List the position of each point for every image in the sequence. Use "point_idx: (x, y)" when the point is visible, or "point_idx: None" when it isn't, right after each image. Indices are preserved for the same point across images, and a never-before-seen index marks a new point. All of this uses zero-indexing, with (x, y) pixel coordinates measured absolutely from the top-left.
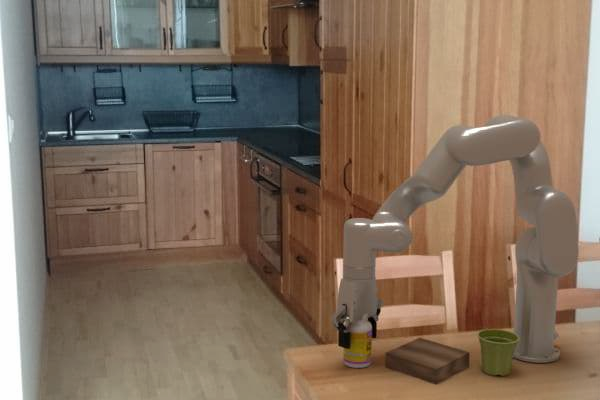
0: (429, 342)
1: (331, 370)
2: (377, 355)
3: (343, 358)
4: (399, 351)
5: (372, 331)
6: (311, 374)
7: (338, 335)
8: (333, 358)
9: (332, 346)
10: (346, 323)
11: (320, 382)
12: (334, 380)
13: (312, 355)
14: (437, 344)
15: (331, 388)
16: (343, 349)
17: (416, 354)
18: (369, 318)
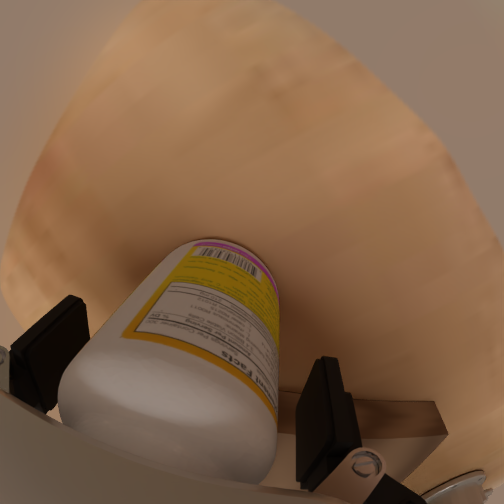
0: (410, 463)
1: (97, 239)
2: (350, 325)
3: (163, 259)
4: (288, 451)
5: (300, 429)
6: (38, 198)
7: (35, 323)
8: (205, 174)
9: (350, 89)
10: (64, 399)
11: (24, 257)
12: (55, 287)
13: (180, 70)
14: (398, 476)
15: (25, 301)
16: (151, 273)
17: (291, 478)
18: (322, 481)
